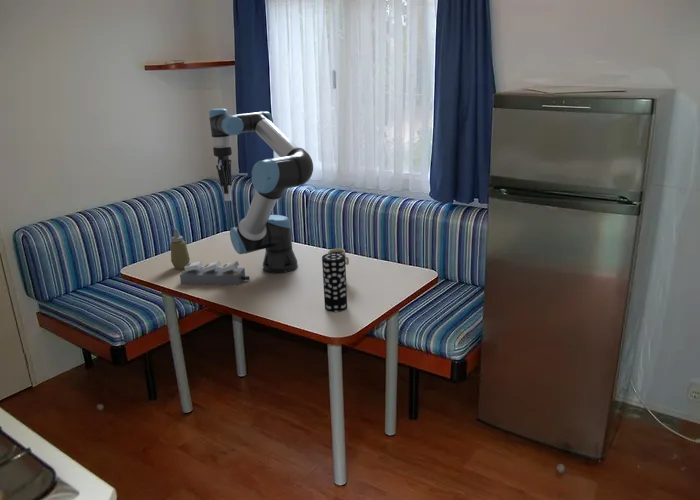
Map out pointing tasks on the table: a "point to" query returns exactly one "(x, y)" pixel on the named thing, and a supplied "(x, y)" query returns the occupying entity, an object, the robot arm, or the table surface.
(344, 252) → the character mug
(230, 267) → the plate
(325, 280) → the spotted tube
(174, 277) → the table surface
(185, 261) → the squeeze bottle
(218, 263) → the block
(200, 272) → the switch strip
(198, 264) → the plate
